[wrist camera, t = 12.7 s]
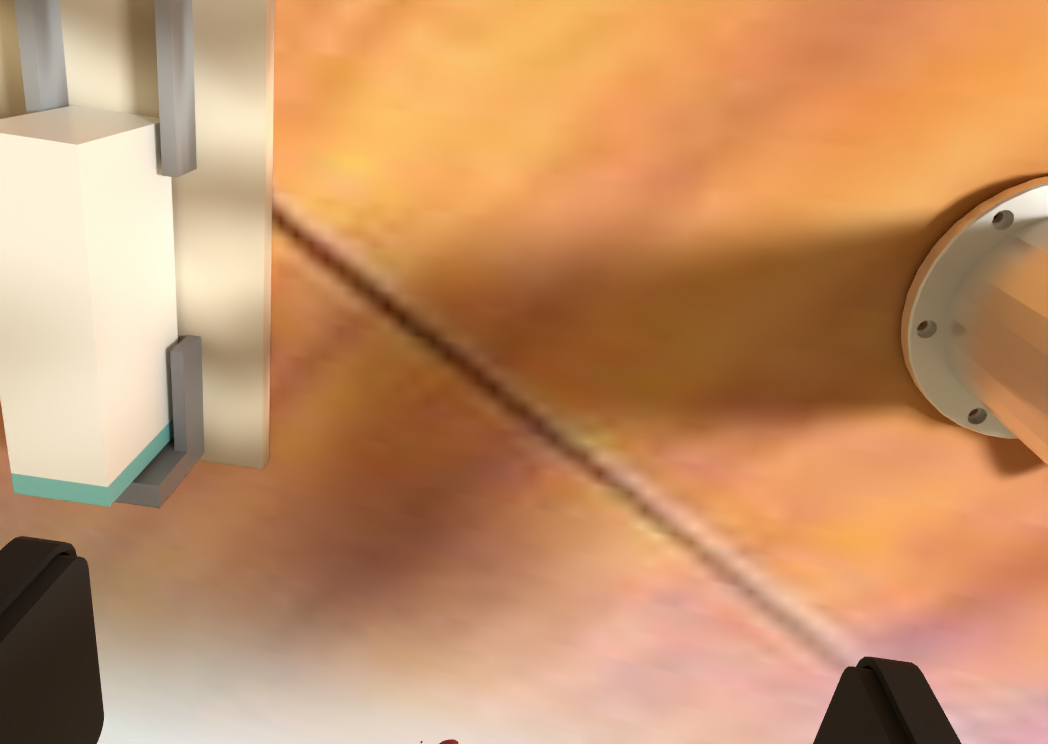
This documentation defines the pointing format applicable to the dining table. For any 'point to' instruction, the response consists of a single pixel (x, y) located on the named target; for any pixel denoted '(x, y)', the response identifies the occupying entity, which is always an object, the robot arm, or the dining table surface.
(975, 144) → the dining table surface
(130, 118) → the white teal block
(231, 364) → the base
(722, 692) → the dining table surface
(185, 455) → the socket
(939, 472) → the dining table surface
